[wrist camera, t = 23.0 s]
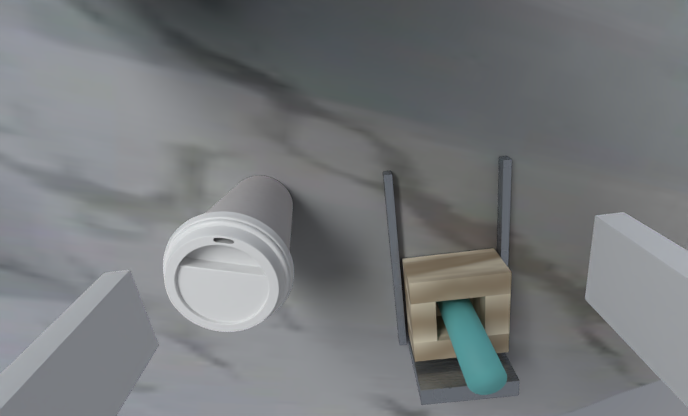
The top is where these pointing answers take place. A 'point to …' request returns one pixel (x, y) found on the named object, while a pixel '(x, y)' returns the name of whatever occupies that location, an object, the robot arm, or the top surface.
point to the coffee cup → (233, 258)
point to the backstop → (431, 375)
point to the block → (455, 298)
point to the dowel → (472, 347)
